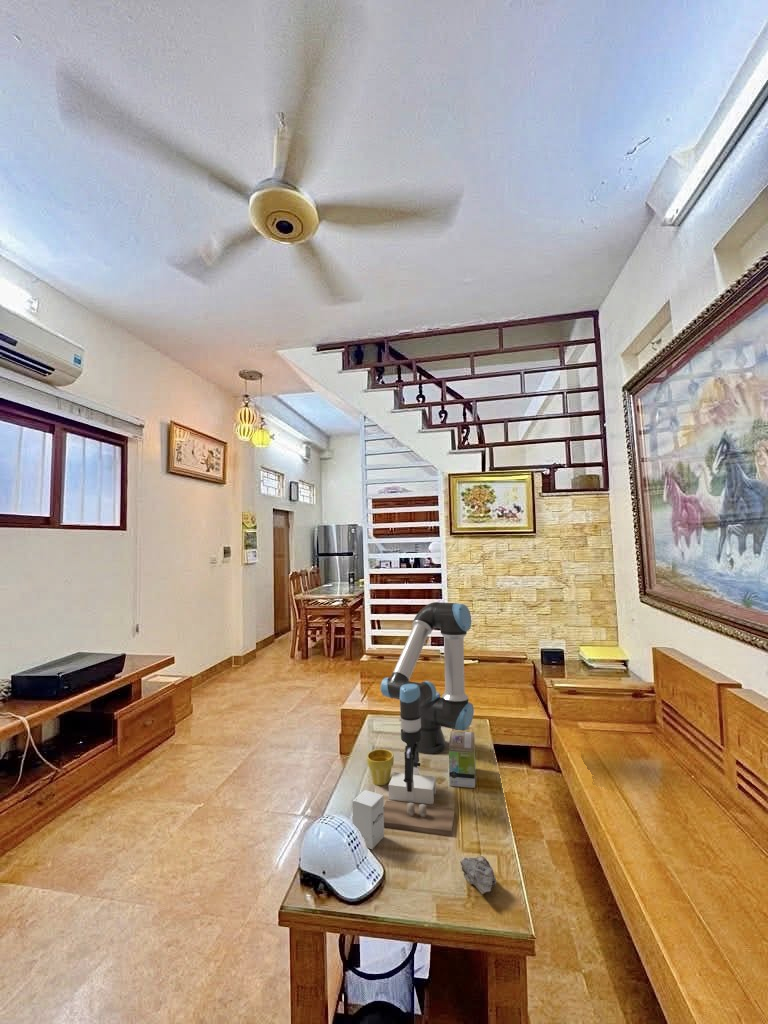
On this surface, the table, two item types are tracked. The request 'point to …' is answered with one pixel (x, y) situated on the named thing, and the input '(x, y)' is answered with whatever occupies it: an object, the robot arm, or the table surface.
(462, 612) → the robot arm
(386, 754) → the plant pot
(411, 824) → the board
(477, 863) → the mineral specimen
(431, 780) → the panel
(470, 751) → the tea box
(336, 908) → the table surface
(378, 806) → the supplement box
